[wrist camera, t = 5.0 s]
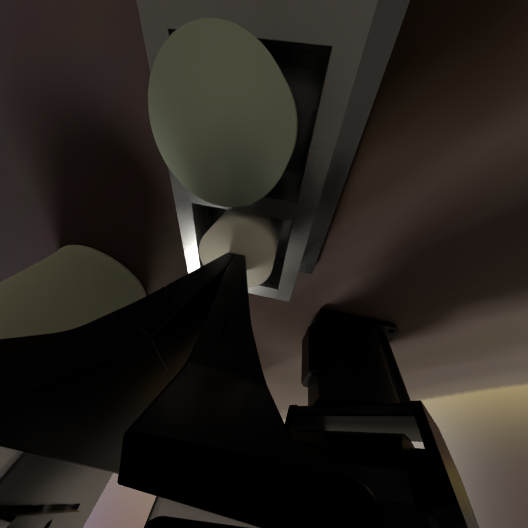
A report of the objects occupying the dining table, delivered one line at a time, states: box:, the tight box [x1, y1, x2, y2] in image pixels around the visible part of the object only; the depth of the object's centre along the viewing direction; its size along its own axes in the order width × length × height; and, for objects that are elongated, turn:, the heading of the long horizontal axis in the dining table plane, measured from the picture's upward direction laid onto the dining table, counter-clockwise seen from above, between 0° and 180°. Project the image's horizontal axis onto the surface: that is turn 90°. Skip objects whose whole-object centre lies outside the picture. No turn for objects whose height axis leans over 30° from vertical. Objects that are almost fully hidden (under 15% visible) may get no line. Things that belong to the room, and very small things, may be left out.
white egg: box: [199, 209, 281, 288], centre depth 10 cm, size 4×4×4 cm
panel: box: [137, 0, 410, 302], centre depth 8 cm, size 9×16×4 cm, turn 173°
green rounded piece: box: [148, 18, 299, 207], centre depth 6 cm, size 4×4×4 cm
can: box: [0, 245, 146, 339], centre depth 15 cm, size 9×9×12 cm
